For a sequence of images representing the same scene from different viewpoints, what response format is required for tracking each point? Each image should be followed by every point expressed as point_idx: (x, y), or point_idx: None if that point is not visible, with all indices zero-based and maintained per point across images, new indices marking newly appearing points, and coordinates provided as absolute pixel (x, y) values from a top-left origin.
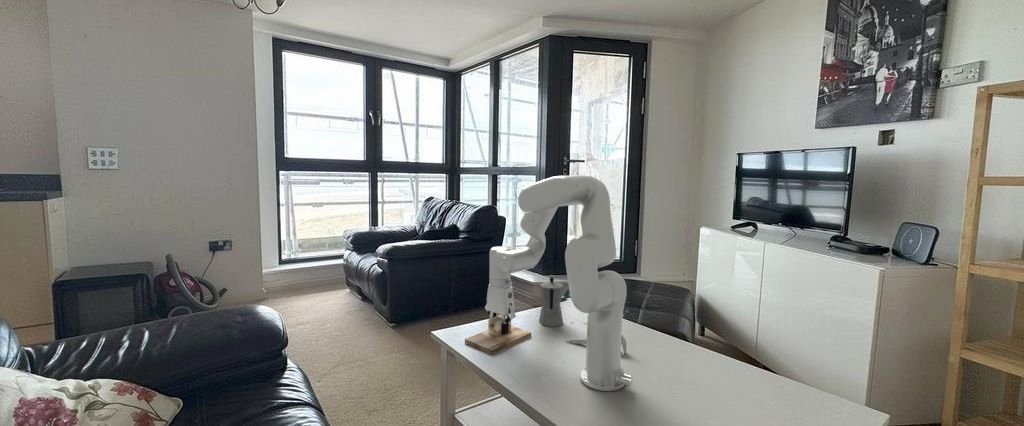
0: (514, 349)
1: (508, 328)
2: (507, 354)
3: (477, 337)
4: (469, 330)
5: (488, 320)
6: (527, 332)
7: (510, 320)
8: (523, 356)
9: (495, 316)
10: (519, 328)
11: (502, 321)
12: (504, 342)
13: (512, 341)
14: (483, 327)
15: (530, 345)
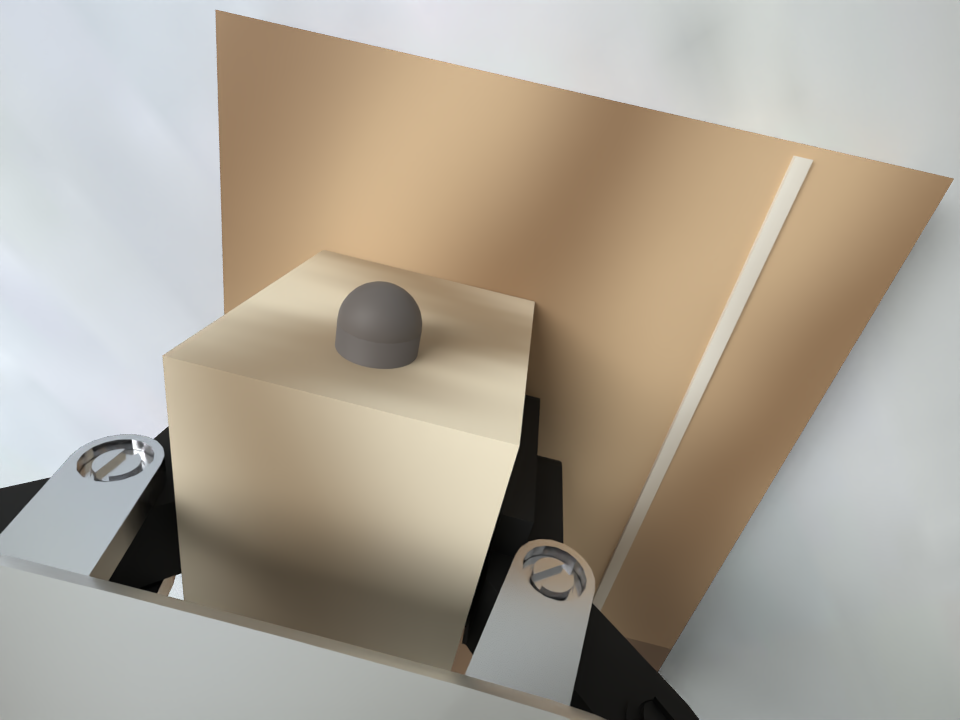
0: (759, 602)
1: (561, 489)
2: (726, 692)
3: None
4: (26, 399)
5: None
6: (864, 219)
7: (634, 669)
8: (907, 685)
9: (157, 523)
10: (629, 107)
11: (454, 650)
12: (633, 635)
13: (711, 574)
14: (45, 233)
15: (945, 459)
